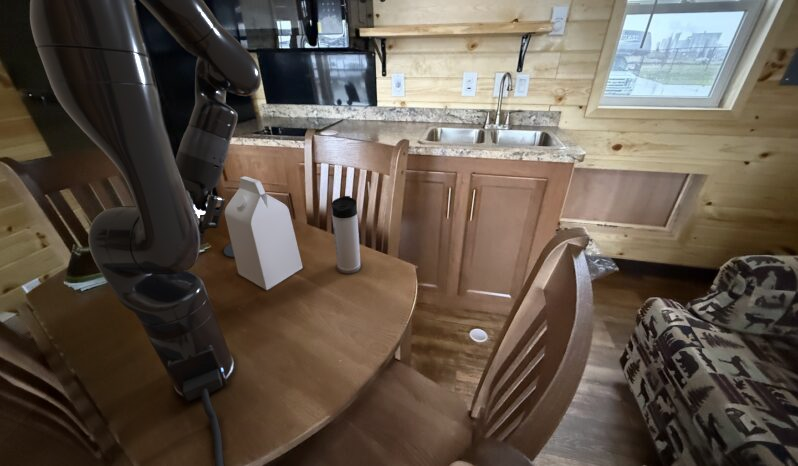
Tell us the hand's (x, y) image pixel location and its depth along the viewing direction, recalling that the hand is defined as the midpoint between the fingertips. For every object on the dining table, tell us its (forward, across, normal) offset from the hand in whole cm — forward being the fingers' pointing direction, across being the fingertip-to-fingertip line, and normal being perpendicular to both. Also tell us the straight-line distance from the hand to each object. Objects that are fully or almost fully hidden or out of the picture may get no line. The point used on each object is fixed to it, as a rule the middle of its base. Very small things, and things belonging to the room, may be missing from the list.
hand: (176, 237), depth 59 cm
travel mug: (0, +22, +34) cm, 41 cm away
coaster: (+7, -12, +33) cm, 36 cm away
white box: (+8, +4, +27) cm, 28 cm away
